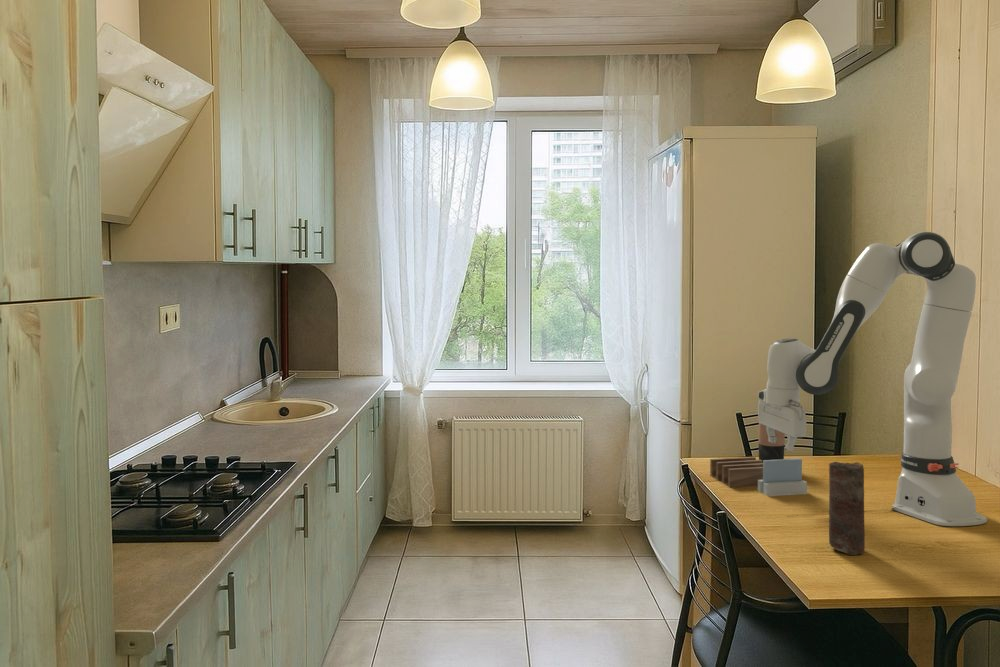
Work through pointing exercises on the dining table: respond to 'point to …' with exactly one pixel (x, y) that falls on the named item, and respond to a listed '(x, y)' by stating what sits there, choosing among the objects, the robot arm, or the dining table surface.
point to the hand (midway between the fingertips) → (780, 446)
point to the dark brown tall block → (846, 507)
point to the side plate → (782, 470)
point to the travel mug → (770, 445)
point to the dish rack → (737, 471)
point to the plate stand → (783, 488)
